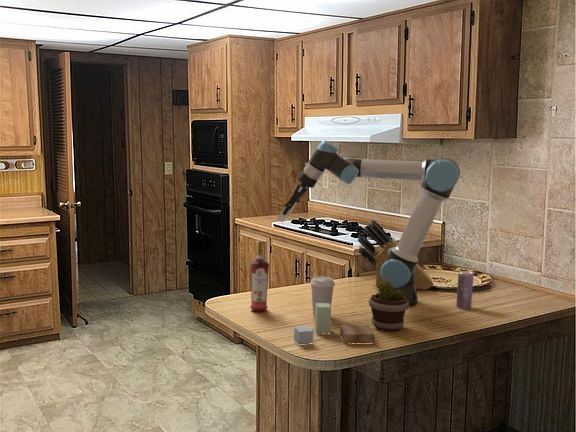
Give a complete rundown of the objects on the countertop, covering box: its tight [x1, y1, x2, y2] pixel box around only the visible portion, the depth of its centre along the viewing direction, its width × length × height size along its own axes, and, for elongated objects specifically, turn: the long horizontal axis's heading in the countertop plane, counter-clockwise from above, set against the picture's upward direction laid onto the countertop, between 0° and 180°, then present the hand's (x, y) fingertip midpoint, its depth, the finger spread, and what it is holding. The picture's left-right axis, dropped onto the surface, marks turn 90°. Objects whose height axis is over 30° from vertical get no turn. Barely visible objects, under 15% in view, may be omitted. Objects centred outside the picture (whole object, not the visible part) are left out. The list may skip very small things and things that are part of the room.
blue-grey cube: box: [293, 325, 314, 345], centre depth 215 cm, size 5×5×5 cm
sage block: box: [314, 303, 332, 335], centre depth 227 cm, size 5×5×10 cm
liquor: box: [249, 239, 270, 312], centre depth 249 cm, size 7×7×28 cm
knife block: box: [357, 219, 434, 291], centre depth 292 cm, size 11×35×31 cm, turn 82°
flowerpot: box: [368, 278, 409, 332], centre depth 233 cm, size 14×15×20 cm
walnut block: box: [339, 324, 375, 345], centre depth 220 cm, size 10×10×4 cm
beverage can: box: [455, 270, 474, 311], centre depth 261 cm, size 6×6×15 cm
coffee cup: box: [309, 275, 336, 318], centre depth 244 cm, size 10×10×15 cm
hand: (283, 217), depth 265 cm, fingers open, 13 cm apart
